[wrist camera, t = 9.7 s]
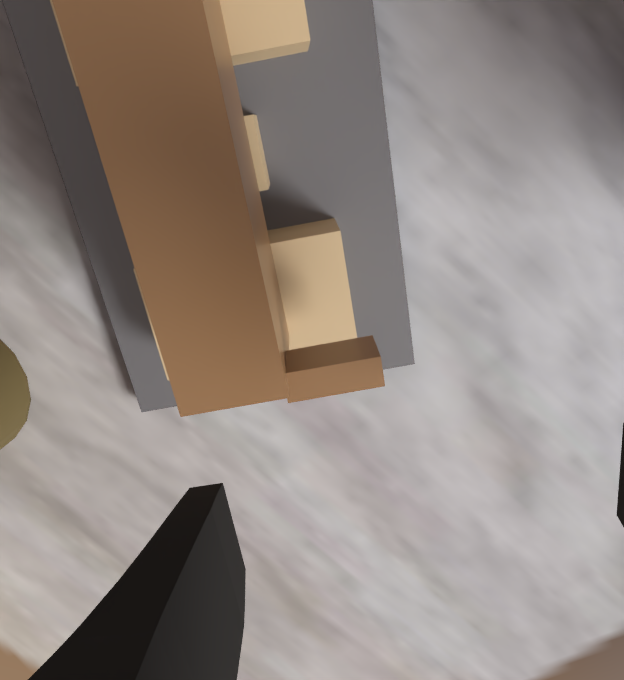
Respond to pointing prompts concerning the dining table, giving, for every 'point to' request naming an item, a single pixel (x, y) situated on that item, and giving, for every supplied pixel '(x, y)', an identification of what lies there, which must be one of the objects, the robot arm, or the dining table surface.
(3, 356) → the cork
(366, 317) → the gray tray with blocks
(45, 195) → the dining table surface
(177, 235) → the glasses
